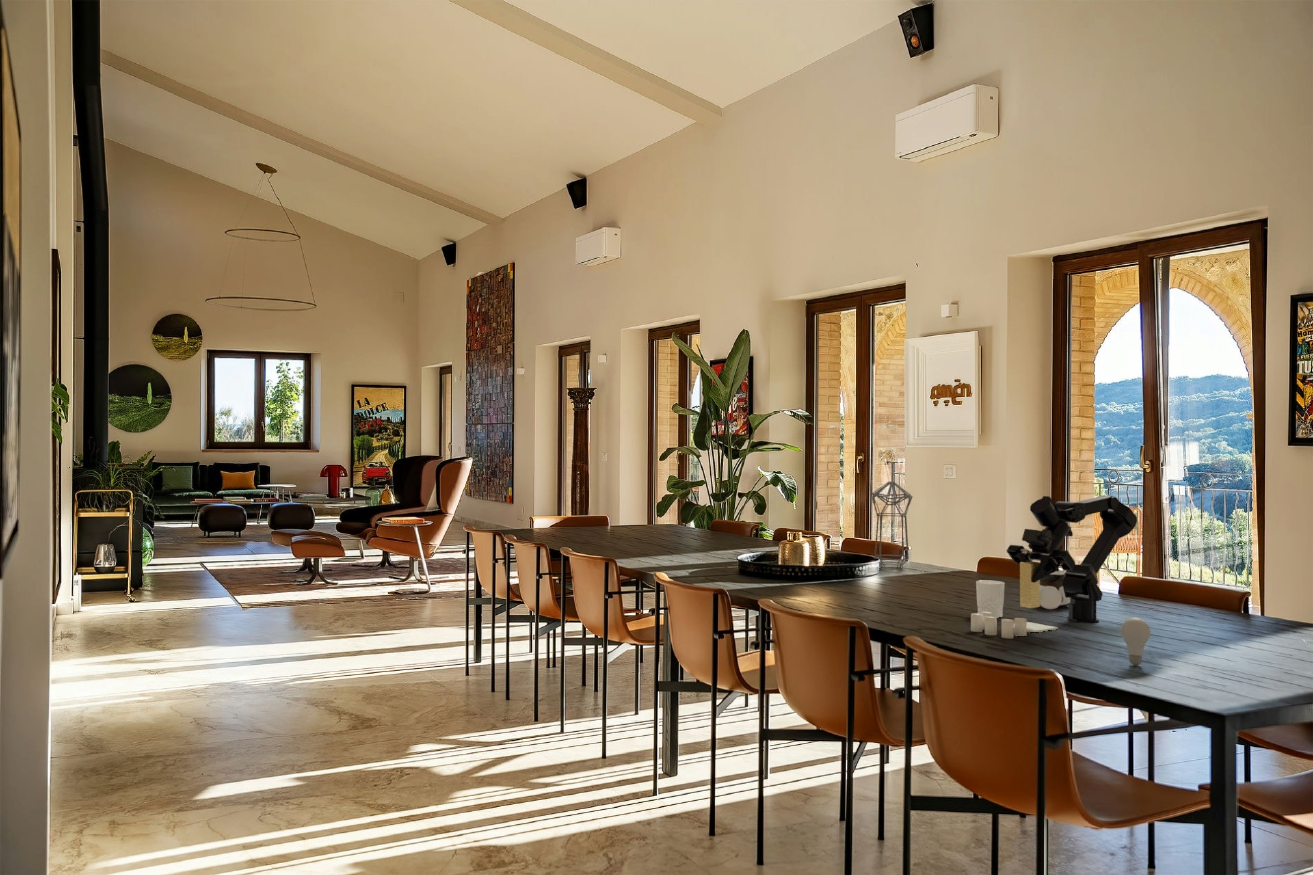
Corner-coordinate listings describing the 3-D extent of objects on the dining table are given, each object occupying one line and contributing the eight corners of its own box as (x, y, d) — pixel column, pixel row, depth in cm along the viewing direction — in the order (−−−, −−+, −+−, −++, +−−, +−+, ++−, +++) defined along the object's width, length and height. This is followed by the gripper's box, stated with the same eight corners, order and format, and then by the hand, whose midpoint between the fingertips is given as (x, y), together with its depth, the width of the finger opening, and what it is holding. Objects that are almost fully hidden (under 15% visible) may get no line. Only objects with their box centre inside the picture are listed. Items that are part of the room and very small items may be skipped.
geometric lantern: (910, 567, 407) (910, 480, 407) (912, 572, 391) (912, 482, 391) (870, 566, 410) (870, 480, 410) (871, 571, 394) (871, 481, 394)
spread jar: (1064, 604, 317) (1064, 567, 317) (1080, 610, 306) (1081, 572, 306) (1026, 604, 316) (1027, 567, 317) (1041, 610, 305) (1041, 572, 305)
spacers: (985, 627, 276) (985, 611, 276) (1028, 636, 264) (1028, 619, 264) (965, 630, 272) (965, 613, 272) (1008, 639, 260) (1008, 621, 260)
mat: (1026, 623, 282) (1026, 621, 282) (1057, 629, 274) (1057, 627, 274) (1003, 627, 277) (1003, 624, 277) (1033, 633, 269) (1033, 630, 269)
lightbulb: (1115, 662, 233) (1115, 615, 233) (1140, 662, 233) (1140, 615, 233) (1130, 668, 227) (1130, 620, 227) (1155, 668, 227) (1156, 619, 227)
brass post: (1028, 604, 278) (1028, 561, 278) (1039, 606, 275) (1039, 562, 275) (1020, 606, 276) (1019, 562, 276) (1031, 608, 273) (1031, 563, 273)
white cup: (1006, 619, 290) (1006, 584, 290) (977, 617, 291) (977, 583, 291) (1002, 614, 298) (1002, 580, 298) (974, 613, 299) (974, 579, 299)
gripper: (1010, 516, 285) (984, 557, 279) (1068, 520, 269) (1042, 565, 264) (1028, 542, 290) (1003, 583, 284) (1086, 548, 274) (1061, 592, 268)
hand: (1026, 580), depth 275 cm, fingers closed on brass post, 4 cm apart
